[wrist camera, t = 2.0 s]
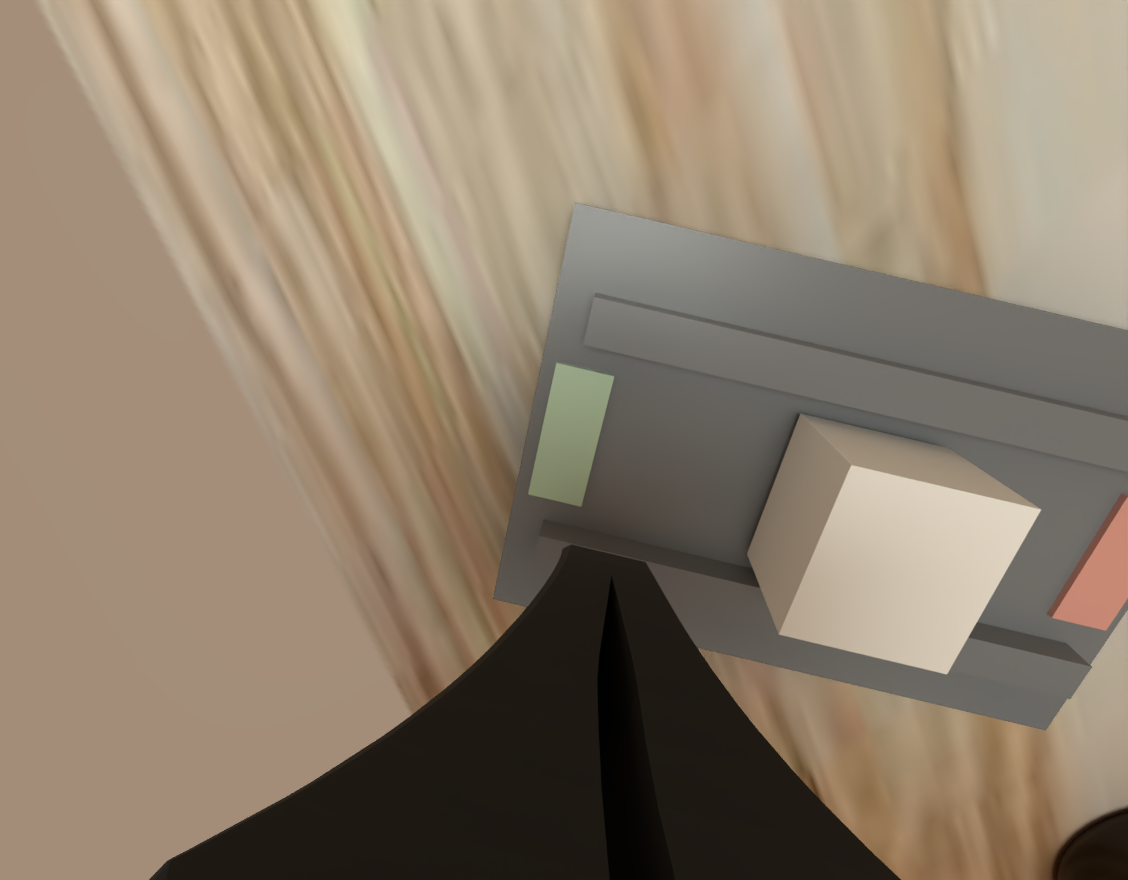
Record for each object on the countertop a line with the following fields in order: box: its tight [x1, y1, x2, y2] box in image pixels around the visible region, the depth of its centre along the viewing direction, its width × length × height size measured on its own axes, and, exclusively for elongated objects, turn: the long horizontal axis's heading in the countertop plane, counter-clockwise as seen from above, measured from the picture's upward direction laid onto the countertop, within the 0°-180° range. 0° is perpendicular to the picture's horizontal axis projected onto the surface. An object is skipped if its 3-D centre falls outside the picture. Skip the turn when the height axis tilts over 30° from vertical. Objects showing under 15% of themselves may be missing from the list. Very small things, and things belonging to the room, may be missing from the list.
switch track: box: [493, 203, 1128, 730], centre depth 17 cm, size 12×18×2 cm, turn 78°
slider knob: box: [747, 413, 1041, 674], centre depth 14 cm, size 4×4×4 cm
